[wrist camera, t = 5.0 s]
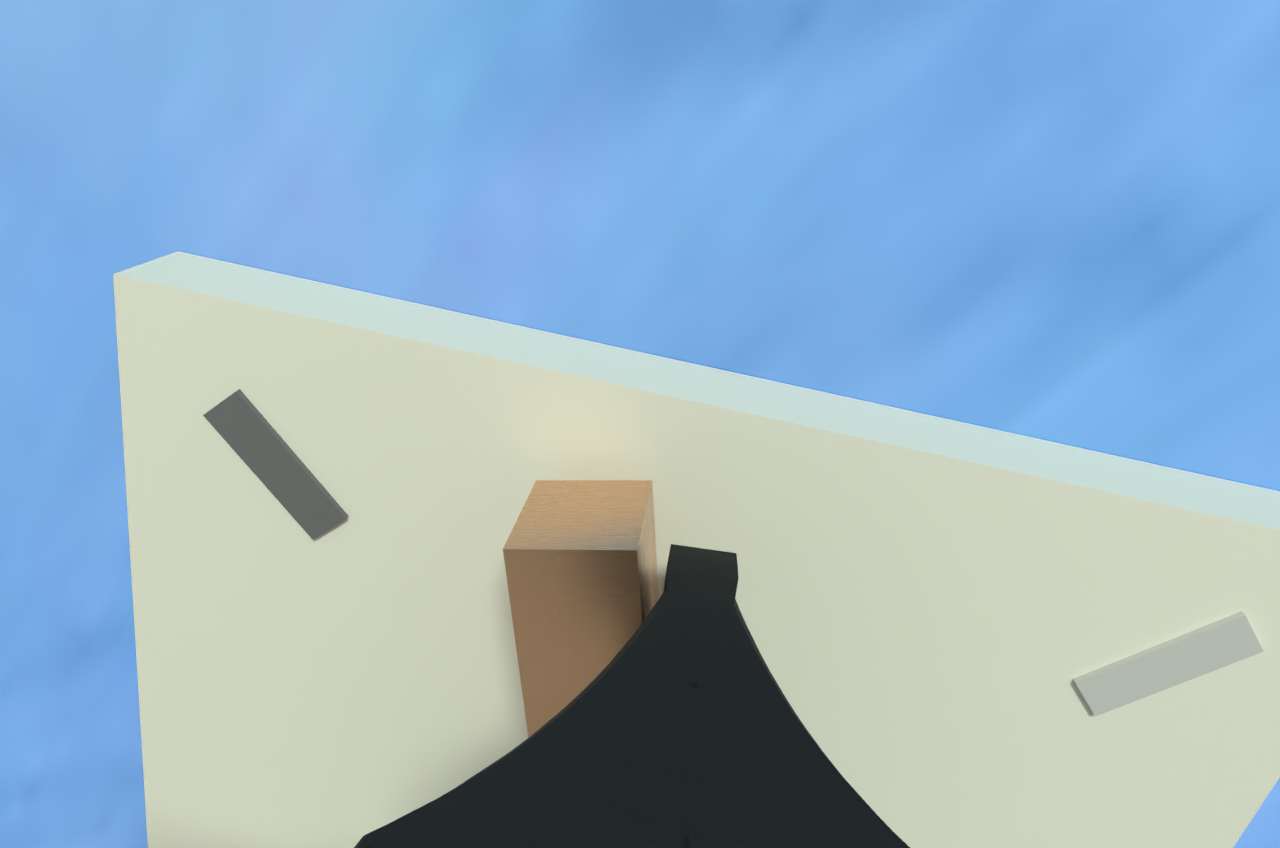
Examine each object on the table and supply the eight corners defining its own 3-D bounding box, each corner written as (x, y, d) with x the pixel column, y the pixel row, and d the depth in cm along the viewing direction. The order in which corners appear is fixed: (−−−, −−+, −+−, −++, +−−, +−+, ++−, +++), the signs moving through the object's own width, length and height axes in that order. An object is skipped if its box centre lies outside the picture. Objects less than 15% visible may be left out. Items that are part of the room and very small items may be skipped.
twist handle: (804, 1020, 16) (812, 1146, 14) (483, 996, 17) (450, 1114, 15) (818, 477, 12) (831, 556, 10) (385, 477, 12) (322, 552, 10)
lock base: (948, 1172, 20) (964, 1260, 19) (199, 992, 21) (158, 1064, 19) (1350, 507, 13) (1428, 565, 11) (177, 251, 13) (108, 275, 12)
